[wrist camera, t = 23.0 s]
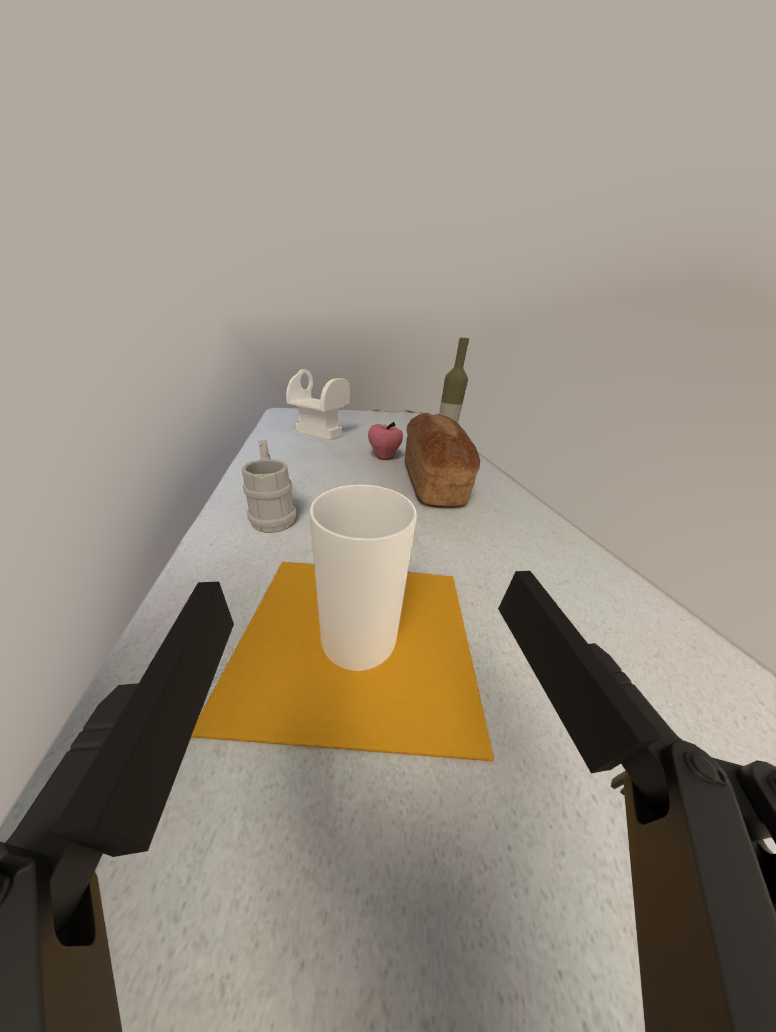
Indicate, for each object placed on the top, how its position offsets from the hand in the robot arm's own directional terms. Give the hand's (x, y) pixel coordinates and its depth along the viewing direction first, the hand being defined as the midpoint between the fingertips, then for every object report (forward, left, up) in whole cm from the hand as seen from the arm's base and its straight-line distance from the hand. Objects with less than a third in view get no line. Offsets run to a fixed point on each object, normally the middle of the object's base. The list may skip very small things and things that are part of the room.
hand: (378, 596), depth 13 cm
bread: (+10, +52, -18) cm, 55 cm away
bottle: (+18, +87, -18) cm, 90 cm away
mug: (-20, +32, -18) cm, 41 cm away
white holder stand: (-24, +82, -18) cm, 87 cm away
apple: (-2, +65, -18) cm, 67 cm away
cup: (-2, +10, -17) cm, 20 cm away
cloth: (-2, +10, -18) cm, 20 cm away
